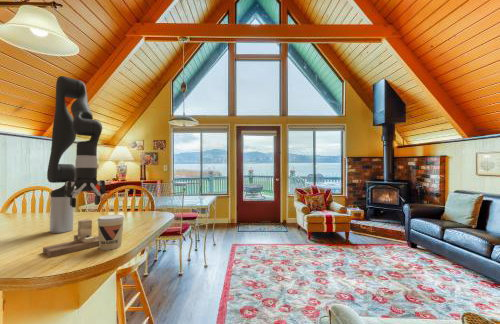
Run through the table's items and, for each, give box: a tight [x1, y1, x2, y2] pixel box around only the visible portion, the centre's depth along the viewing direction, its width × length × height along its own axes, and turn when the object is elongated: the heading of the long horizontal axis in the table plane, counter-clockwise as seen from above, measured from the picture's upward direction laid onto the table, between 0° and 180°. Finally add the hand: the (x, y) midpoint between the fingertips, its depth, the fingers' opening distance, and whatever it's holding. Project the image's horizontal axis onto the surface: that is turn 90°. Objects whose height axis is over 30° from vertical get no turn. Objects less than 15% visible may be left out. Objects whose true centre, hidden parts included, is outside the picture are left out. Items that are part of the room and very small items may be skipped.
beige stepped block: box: [73, 218, 95, 243], centre depth 100 cm, size 9×5×10 cm, turn 56°
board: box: [42, 235, 99, 258], centre depth 97 cm, size 8×20×2 cm, turn 146°
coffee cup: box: [97, 214, 125, 251], centre depth 99 cm, size 9×9×12 cm
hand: (85, 206), depth 101 cm, fingers open, 8 cm apart
